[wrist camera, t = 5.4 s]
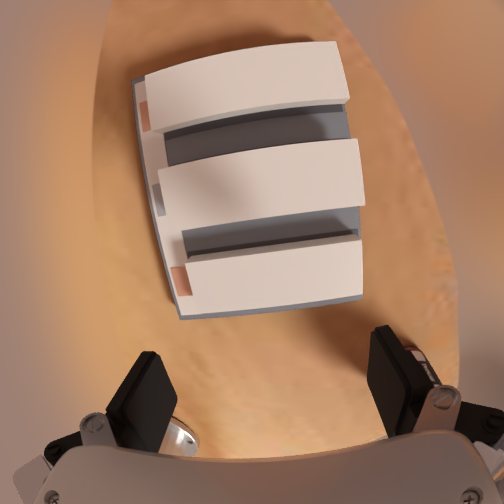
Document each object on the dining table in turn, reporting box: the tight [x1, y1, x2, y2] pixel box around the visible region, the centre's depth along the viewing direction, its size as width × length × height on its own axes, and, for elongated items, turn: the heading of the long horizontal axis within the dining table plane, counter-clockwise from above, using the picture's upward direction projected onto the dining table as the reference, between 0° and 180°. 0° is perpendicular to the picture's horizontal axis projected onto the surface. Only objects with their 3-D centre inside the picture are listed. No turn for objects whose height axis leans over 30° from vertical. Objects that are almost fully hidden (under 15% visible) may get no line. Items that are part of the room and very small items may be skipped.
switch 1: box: [145, 41, 350, 134], centre depth 14 cm, size 4×12×2 cm, turn 99°
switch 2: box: [185, 234, 363, 314], centre depth 19 cm, size 4×12×2 cm, turn 99°
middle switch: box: [158, 139, 365, 233], centre depth 16 cm, size 4×12×2 cm, turn 99°
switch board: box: [131, 41, 362, 320], centre depth 19 cm, size 20×15×2 cm
